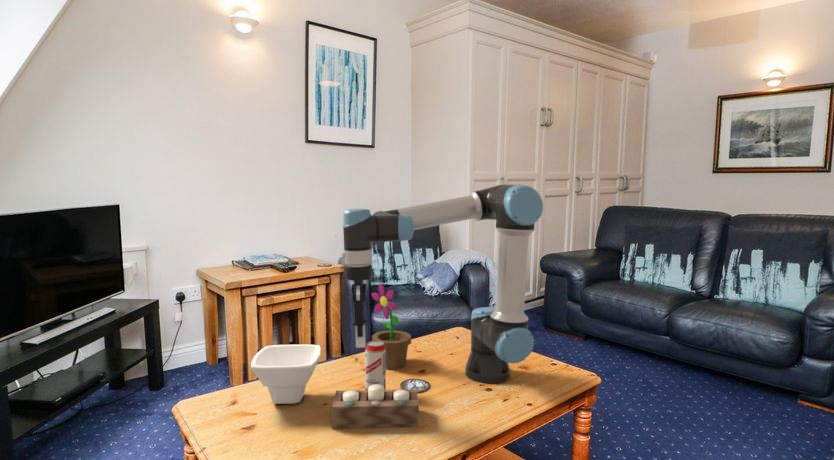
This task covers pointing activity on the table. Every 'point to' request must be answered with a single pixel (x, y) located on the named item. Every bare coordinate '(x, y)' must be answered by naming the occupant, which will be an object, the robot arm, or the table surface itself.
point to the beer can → (375, 364)
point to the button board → (375, 411)
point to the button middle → (376, 392)
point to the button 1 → (351, 396)
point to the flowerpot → (391, 332)
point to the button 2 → (401, 395)
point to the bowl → (286, 370)
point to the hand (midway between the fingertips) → (360, 346)
